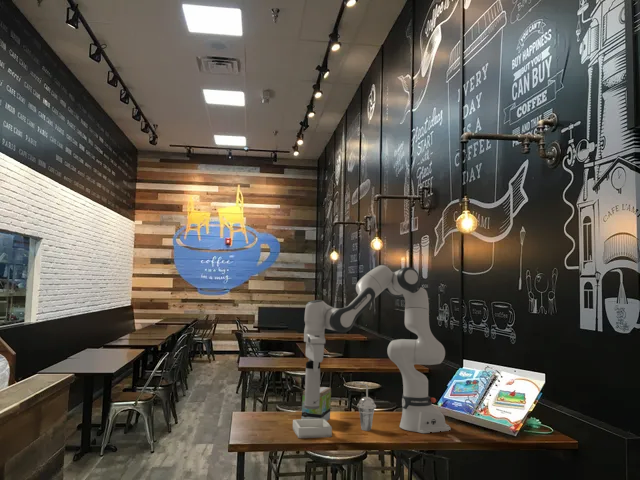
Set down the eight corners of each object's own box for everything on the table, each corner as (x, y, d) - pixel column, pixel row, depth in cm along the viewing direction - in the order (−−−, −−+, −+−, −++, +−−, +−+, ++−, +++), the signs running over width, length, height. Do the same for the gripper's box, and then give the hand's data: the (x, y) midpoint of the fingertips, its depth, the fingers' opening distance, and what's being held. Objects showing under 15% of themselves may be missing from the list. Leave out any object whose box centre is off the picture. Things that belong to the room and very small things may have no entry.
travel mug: (318, 409, 212) (319, 361, 214) (303, 408, 214) (304, 360, 216) (321, 406, 218) (322, 359, 221) (306, 405, 220) (307, 358, 222)
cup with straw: (367, 433, 217) (367, 385, 219) (351, 428, 224) (352, 382, 226) (379, 429, 223) (380, 383, 225) (364, 425, 230) (365, 380, 232)
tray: (324, 428, 223) (324, 418, 224) (331, 437, 210) (331, 427, 210) (292, 429, 220) (292, 419, 221) (298, 438, 207) (298, 428, 207)
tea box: (322, 426, 226) (322, 392, 228) (300, 424, 229) (301, 390, 231) (330, 418, 241) (331, 386, 242) (310, 416, 243) (311, 385, 245)
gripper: (302, 335, 229) (301, 366, 227) (311, 339, 209) (310, 374, 207) (316, 335, 230) (315, 366, 229) (326, 339, 210) (325, 374, 209)
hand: (313, 370), depth 218 cm, fingers closed on travel mug, 6 cm apart
